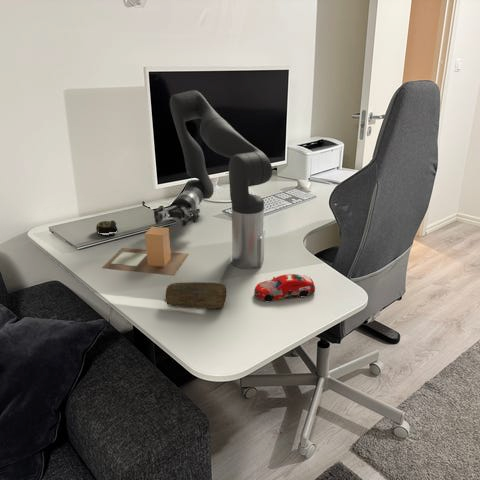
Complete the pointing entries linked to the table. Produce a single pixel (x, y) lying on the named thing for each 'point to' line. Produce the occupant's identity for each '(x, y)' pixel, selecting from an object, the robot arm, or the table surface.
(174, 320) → the table surface
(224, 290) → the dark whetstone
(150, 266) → the board
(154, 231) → the tall wooden pillar
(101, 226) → the tape measure
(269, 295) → the race car
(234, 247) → the robot arm
